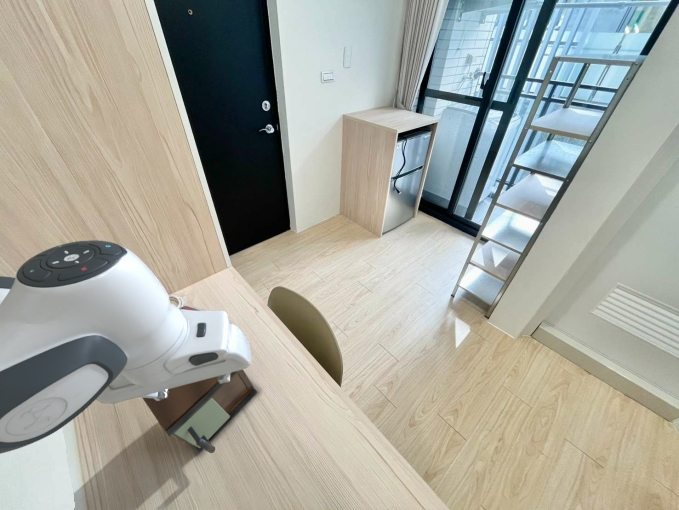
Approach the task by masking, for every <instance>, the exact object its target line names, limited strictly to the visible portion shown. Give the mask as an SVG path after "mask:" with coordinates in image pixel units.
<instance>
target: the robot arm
mask: <svg viewBox="0 0 679 510" xmlns="http://www.w3.org/2000/svg"><path fill="white" fill-rule="evenodd" d="M251 350H252V349H251V345H250V341H249V340H248V338H247V336H246V335H245V334H244V332H243V331H242V330H241V328H239V326H238V325H236V324H233V323H230V319H229V315H228V313H227V312H226V311H225V310H200V311H194V310H184V309H180V308H179V307H178V306H176V305H175V304H173V303H171V301H170V296H169V293H168V292H167V289H166V288H165V287H164V285H163V284H162V283H161V281H160V280H159V279H158V277H157V276H156V275H155V274H154V273H153V271H152V270H151V269H150V268H149V266H148V265H147V264H146V263H145V262H144V261H143V260H142V259H141V258H140V257H139V256H138V255H137V254H135V253H134V252H133V251H132V250H130V249H129V248H127V247H124V246H122V245H120V244H119V243H115V242H111V241H106V240H97V239H96V240H95V239H93V240H90V239H89V240H78V241H77V240H76V241H72V242H67V243H62V244H59V245H55V246H53V247H51V248H48V249H46V250H43V251H42V252H39V253H37V254H35V255H34V256H31V257H30V258H28V259H27V260H26V261H25V262H24V263H22V265H20V267H19V268H18V270H17V271H16V273H15V277H12V276H3V275H1V276H0V455H1V454H5V453H8V452H12V451H15V450H19V449H21V448H24V447H27V446H29V445H31V444H33V443H36V442H38V441H41V440H42V439H45V438H48V437H49V436H50V435H52V434H54V433H57V432H58V431H59V430H60V429H63V428H64V427H65V426H66V425H67V424H69V423H70V422H71V421H73V420H74V419H76V418H77V417H78V416H79V415H81V414H82V413H83V412H84V411H85V410H86V409H88V408H89V407H90V406H91V405H92V404H93V403H94V402H95V401H97V402H99V403H101V404H103V405H104V404H106V405H114V404H118V403H121V402H125V401H130V400H133V399H137V398H142V399H143V398H153V399H155V400H156V401H160V400H163V399H167V398H168V396H169V395H168V393H169V389H171V388H175V387H179V386H182V385H186V384H190V383H194V382H198V381H201V380H205V379H209V378H213V377H216V376H218V382H220V384H222V383H226V382H230V374H231V372H235V371H239V370H245V369H247V368H249V367H250V366H251V364H252V351H251Z"/></svg>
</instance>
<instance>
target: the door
mask: <svg viewBox="0 0 679 510" xmlns="http://www.w3.org/2000/svg"><path fill="white" fill-rule="evenodd" d="M229 418H230V416H229V415H228V414H227V413H226V412H225V411H224V410H223V409H222V408H221V407H220V405H219V404H218V403H217V402H216V401H215V400H214V399H213V398H211V399H210V400H209V401H208V402H207V403H206V404H205V405H204V406H202V407H201V408H200V409H199V410H198V411H197V412H196V413H195V414H194V415H193V416H192V417H191V418H190V419H189V420H188V421H187V422H186V423H185V424H183V425H182V426H181V427H180V428H179V429H178V430H177V431H176V432H175V433H174V434H175V435H177V436H179V437H181V438H182V439H184V440H186V441H188V442H189V443H191V444H193V445H195V446H196V447H198V448H203V449H204V450H203V451H206V452H208V453H209V454H213V453H214V452H215V450H216V446H214V445H213V444H212V443H211V442H209V440H208V439H209V438H210V437H211V436H212V435H213V434H214V433H215V432H216V431H217V430H218V429H219V428H220V427H221V426H222V425H223V424H224V423H225V422H226V421H227V420H228V419H229Z"/></svg>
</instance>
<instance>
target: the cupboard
mask: <svg viewBox="0 0 679 510" xmlns="http://www.w3.org/2000/svg"><path fill="white" fill-rule="evenodd" d="M257 394H259V392H258V391H257V389H255V387H254V385H253V383H252V382H251V381H250V379H249V377H248V375H247V374H246V372H245V369H243V370H239V371H235V372H231V374H230V382H226V383H222V384H220V382H218V376H216V377H213V378H209V379H205V380H201V381H198V382H194V383H190V384H186V385H182V386H179V387H175V388H171V389H169V393H168V395H169V396H168V398H167V399H163V400H160V401H156V400H155V399H153V398H142V400H143V402H144V403H145V404H146V406H147V407H148V409H149V410H150V412H151V413H152V415H153V416H154V418H155V419H156V420H157V422H158V424H159V425H160V426H161V428H162V430H163V431H164V432H165V433H166V435H167V436H168V437H169V438H170V437H172V436H174V437H175V438H176V439H179V441H180V440H181V441H182V442H184V443H185V444H187V445H190V446H191V447H193V448H195V449H196V451H197V452H198V453H199V454H201V453H202V452H203V451H205V450H204V449H203V448H198V447H196V446H195V445H193V444H191V443H189V442H188V441H186V440H184V439H182V438H181V437H179V436H177V435H175V434H174V433H175V432H176V431H177V430H178V429H179V428H180V427H181V426H182V425H183V424H185V423H186V422H187V421H188V420H189V419H190V418H191V417H192V416H193V415H194V414H195V413H196V412H197V411H198V410H199V409H200V408H201V407H202V406H204V405H205V404H206V403H207V402H208V401H209V400H210V399H211V398H213V399H214V400H215V401H216V402H217V403H218V404H219V405H220V407H221V408H222V409H223V410H224V411H225V412H226V413H227V414H228V415H229V416H230V418H229V419H228V420H227V421H226V422H225V423H224V424H223V425H222V426H221V427H220V428H219V429H218V430H217V431H216V432H215V433H214V434H213V435H212V436H211V437H210V438H209V439H208V440H209V442H210V443H211V442H213V440H214V439H215V438H217V436H218V435H219V434H220V433H221V432H222V431H223V430H224V429H225V428H226V427H227V426H228V425H229V424H230V423H231V422H232V421H233V419H235V417H236V416H237V415H238V414H239V413H240V412H241V411H242V410H243V409H244V408H245V407H246V406H247V405H248V404H249V403H250V402H251V401H252V399H253V398H254V397H255V396H257Z"/></svg>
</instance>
